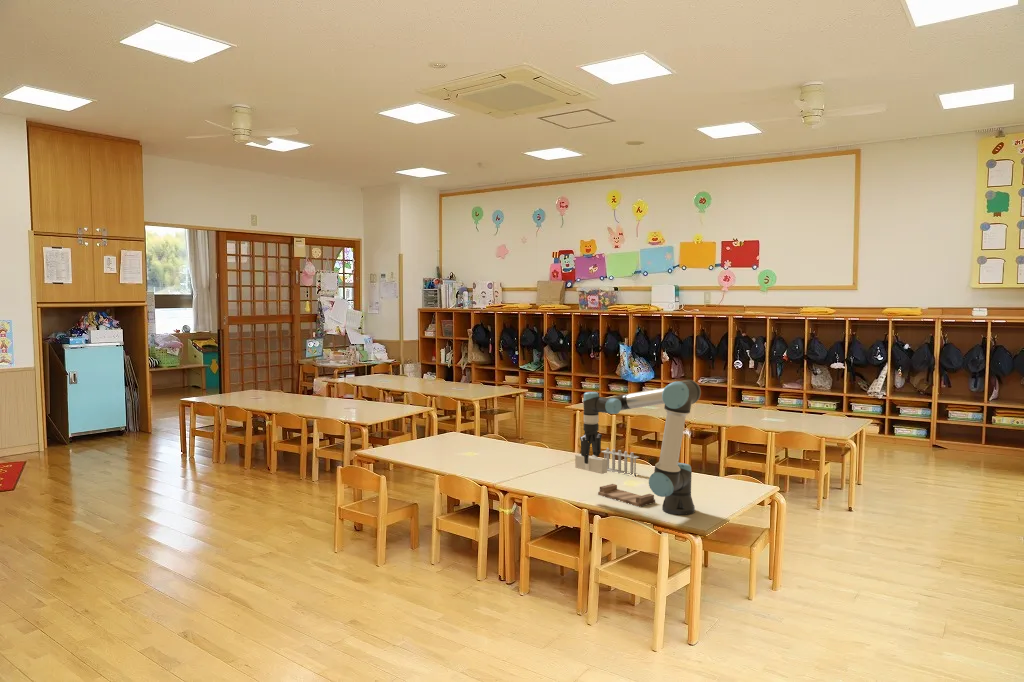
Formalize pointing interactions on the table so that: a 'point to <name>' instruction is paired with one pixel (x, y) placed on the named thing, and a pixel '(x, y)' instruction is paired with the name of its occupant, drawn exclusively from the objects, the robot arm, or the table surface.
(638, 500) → the brown notched plank
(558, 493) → the table surface
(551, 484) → the table surface
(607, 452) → the test tube rack
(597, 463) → the grey rectangular block
